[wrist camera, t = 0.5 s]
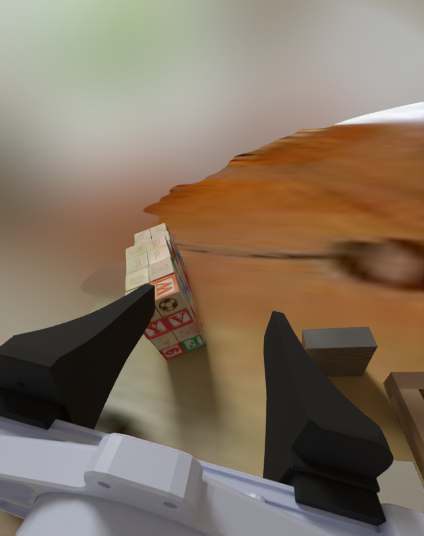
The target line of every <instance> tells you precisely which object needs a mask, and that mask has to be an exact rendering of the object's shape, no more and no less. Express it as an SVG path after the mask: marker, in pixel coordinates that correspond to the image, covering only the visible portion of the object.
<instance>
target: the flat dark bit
mask: <svg viewBox="0 0 424 536" xmlns="http://www.w3.org/2000/svg"><path fill="white" fill-rule="evenodd" d="M302 346H303V347H304V349H305V350H306V352H307V353H308V355H309V356H310V358H311V359H312V360H313V361H314V363H315V364H316V365H317V366H318V368H319V369H320V370H321V371H322V373H323V374H324V375H325V376H362V375H363V373H364V371H365V369H366V367H367V365H368V364H369V362H370V360H371V358H372V356H373V354H374V352H375V350H376V349H377V347H378V346H377V344H376V342H375V340H374V338H373V335H372V333H371V331H370V329H369V327H352V328H330V329H309V330H302Z"/></svg>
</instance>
